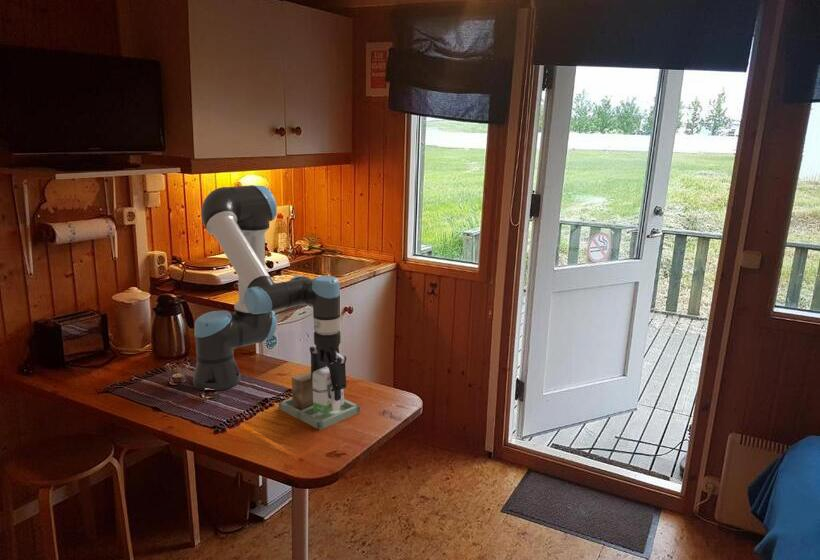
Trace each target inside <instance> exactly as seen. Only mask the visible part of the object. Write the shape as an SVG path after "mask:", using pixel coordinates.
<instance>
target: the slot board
mask: <svg viewBox="0 0 820 560" xmlns="http://www.w3.org/2000/svg"><path fill="white" fill-rule="evenodd" d="M278 409H279V410H280V411H283V412H284V413H286V414H287V415H288V414H289V415H290V416H292V417H294V418H296V419H298V420H300V421H302V422H304V423H306V424H307V425H310V426H312V427H314V429H317V430H319V431H321V430H323V429H326V428H328V427H330V426H332V425H335V424H337V423H339V422H342V421H344V420H346V419H348V418H350V417H353V416H355V415H357V414H359V413H361V405H358V404H357V403H354V402H352V401H350V400H348V399H345V398H344V404H343V405H341V406H340V409H338V410H335V411H330V412H329V413H327V414H323V413H320V412H317V411H314V410H313V406H311V407H308V408H306V409H303V410H301V411H300V410H298V409H296V408H294V407H293V400H292V397H289V398H288V399H284V400H282V401H280V402H278Z"/></svg>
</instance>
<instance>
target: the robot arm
mask: <svg viewBox="0 0 820 560" xmlns="http://www.w3.org/2000/svg"><path fill="white" fill-rule="evenodd" d="M276 201H277V200H276V198H275V196H274V195H273V193H272V191H271V190H270V189H269V188H268V187H267V186H264V185H253V184H251V185H240V186H239V185H238V186H223V187H222V186H221V187H218V188H216V189H213V190H212V191H211V192H210V193H208V194H207V196H206V197H205V198H204V201H203V203H202V205H201V212H200V213H201V221H202V224H203V227H204V228H205V229H206V231H207V233H208V234H209V235H210V236H213V237H214V238H215V240H216V241H217V243H218V244H219V246H220V248H221V250H222V251H223V253H224V255H225V256H226V258H227V259H228V261H229V263H230V264H231V266H232V267H233V269H234V272H235V273H236V274H237V277H238V278H237V279H238V283H237V284H238V301H237V302H236V303H235V304H234V308H233V311H234V312H233V313H231V312H230V311H228V310H223V309H222V310H221V309H219V310H211V311H209V312H206V313H203V314H201V315H200V316H198V317H197V318H196V320H195V321H194V330H193V331H194V333H193V335H194V340H195V341H194V342H195V351H196V364H195V369H194V372H193V377H192V385H193V387H194V388H195V389H197V390H200V391H205V390H204V389H205V388H210V389H215V390H216V391H221V390H226V389H227V390H228V389H230V388H232V387H235V386H236V385H238V384H239V383H240V382H241V380H242V379H241V371H240V369H239V367H238V364H237V363H236V360H235V357H234V356H235V355H234V354H235V353H234V350H235V349H238V348H242V347H246V346H251V345H255V344H261V343H263V342H266V341H269V340H270V339H271V338H273V336H274V335H275V334H276V331H277V324H278V322H277V317H276V313H275V311H280V310H285V309H290V308H294V307H299V306H308V307H310V308H312V312H313V313H312V314H313V315H312V317H313V330H314V332H313V342H314V346H313V345H312V346H310V347H309V352H310V370H311V378H312V379H313V372H314V371H316V370H318V369H321V368H324V367H326V366H327V367H328V368H329V372H330V374H331V382H332V387H333V389H331V411H335V410H338V409H340V399H341V389H344V390H345V389H346V388H347V375H346V374H347V371H346V362H347V356H346V355H342V354H341V353H340V350H339V346H340V344H341V342H342V341H341V339H342V338H341V331H340V330H341V289H340V280H339V279H338V278H337V277H335V276H333V275H332V276H331V275H320V276H315V277H314V278H313V279H312V278H310V277H308V276H306V275H305V276H304V275H303V276H302V275H295V276H293V277H292V278H290V280H288V281H282V282H280V281H279V282H276V283H275V281H273V279H272V277H271V276H270V274H269V272H268V271H267V269H266V266H265V265H266V264H265V263H266V260H265V259H266V256H265V255H266V251H265V248H266V246H265V245H266V244H265V243H266V239H265V236H266V235H265V234H266V232H267V231H268V230H269V229H270V222H272V221H274V220H275V219H276V216H277V213H278V207H277V202H276ZM336 385H337V386H336Z"/></svg>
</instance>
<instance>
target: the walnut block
mask: <svg viewBox="0 0 820 560" xmlns="http://www.w3.org/2000/svg"><path fill="white" fill-rule="evenodd" d="M291 394H292V395H291V396H292V397H291V398H292V400H293V407H294V408H296V409H298V410H300V411H301V410H303V409H306V408H308V407H311V406H313V379H312V378H311V369H310V370H308V371H305V372H302V373H299V374H297V375H293V376H291Z"/></svg>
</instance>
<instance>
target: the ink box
mask: <svg viewBox="0 0 820 560" xmlns="http://www.w3.org/2000/svg"><path fill="white" fill-rule="evenodd" d="M336 386H337V385H336ZM331 389H333V387H332V382H331V374H330V372H329V368H328V367H327V366H326V367H324V368H321V369H318V370H316V371H314V372H313V410H314V411H317V412H320V413H323V414H327V413H329V412H330V411H331ZM344 390H345V388H344V389H341V399H340V406H341V405H343V404H344V399H345V396H344V395H345V394H344Z"/></svg>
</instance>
